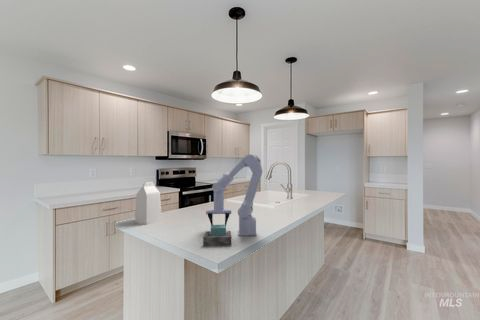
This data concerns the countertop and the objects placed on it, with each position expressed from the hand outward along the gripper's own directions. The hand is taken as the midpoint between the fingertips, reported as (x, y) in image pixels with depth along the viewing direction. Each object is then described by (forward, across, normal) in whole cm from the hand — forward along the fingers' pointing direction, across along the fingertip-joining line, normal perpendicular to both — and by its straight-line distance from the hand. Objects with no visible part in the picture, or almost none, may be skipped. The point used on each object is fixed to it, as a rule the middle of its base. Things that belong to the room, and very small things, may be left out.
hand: (218, 226), depth 129 cm
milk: (+3, +47, -22) cm, 52 cm away
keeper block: (+3, 0, +8) cm, 8 cm away
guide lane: (+2, 0, +14) cm, 14 cm away
